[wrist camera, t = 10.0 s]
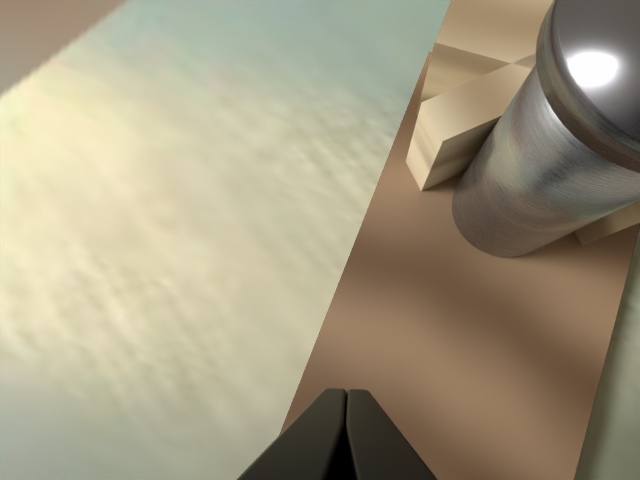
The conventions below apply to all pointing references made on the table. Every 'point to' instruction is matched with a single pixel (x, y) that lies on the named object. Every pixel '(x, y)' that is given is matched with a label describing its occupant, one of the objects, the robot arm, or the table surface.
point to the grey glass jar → (561, 135)
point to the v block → (481, 92)
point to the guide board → (469, 332)
